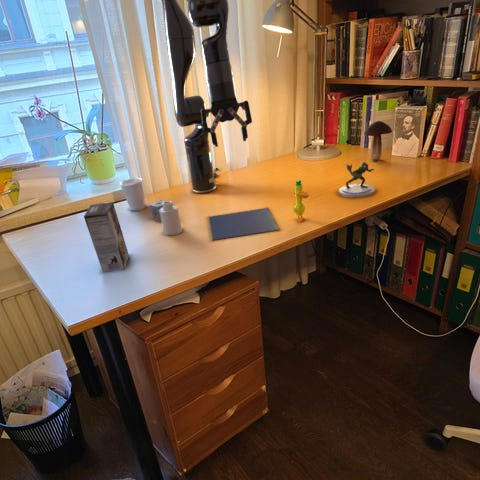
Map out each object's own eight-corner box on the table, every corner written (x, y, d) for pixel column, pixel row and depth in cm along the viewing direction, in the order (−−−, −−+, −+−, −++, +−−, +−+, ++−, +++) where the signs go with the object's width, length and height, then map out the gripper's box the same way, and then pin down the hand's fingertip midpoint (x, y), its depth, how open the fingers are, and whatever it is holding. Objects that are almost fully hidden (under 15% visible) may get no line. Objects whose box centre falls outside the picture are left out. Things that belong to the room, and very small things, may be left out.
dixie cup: (153, 205, 156) (146, 179, 150) (135, 213, 151) (127, 185, 146) (140, 202, 161) (133, 176, 155) (122, 209, 156) (115, 183, 151)
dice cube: (164, 213, 147) (161, 200, 144) (172, 216, 144) (169, 202, 141) (152, 218, 144) (149, 204, 141) (160, 221, 141) (157, 206, 138)
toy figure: (312, 221, 126) (312, 181, 119) (303, 224, 124) (302, 184, 117) (299, 216, 131) (297, 177, 124) (290, 219, 129) (288, 180, 122)
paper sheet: (209, 217, 139) (208, 216, 139) (267, 208, 139) (267, 207, 139) (212, 240, 122) (212, 239, 122) (279, 230, 123) (279, 229, 123)
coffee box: (107, 258, 120) (90, 204, 111) (129, 255, 120) (113, 201, 111) (101, 272, 112) (82, 216, 103) (125, 269, 112) (107, 212, 103)
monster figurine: (360, 199, 136) (362, 167, 130) (331, 194, 144) (332, 163, 138) (381, 189, 142) (384, 158, 136) (352, 184, 150) (353, 155, 144)
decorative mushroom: (363, 164, 170) (365, 124, 161) (361, 157, 178) (363, 119, 170) (391, 162, 167) (394, 122, 159) (387, 155, 176) (391, 117, 168)
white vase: (164, 229, 134) (158, 201, 129) (182, 227, 134) (176, 198, 129) (164, 236, 129) (157, 206, 124) (182, 233, 129) (176, 204, 124)
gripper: (243, 77, 118) (252, 138, 126) (194, 87, 118) (206, 147, 126) (247, 76, 112) (256, 140, 120) (195, 86, 111) (207, 149, 119)
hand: (230, 143), depth 123 cm, fingers open, 8 cm apart
